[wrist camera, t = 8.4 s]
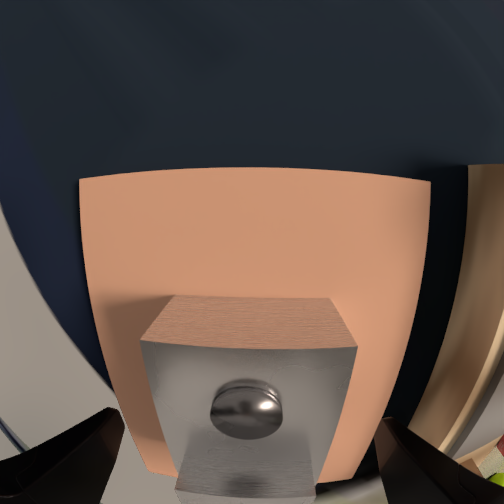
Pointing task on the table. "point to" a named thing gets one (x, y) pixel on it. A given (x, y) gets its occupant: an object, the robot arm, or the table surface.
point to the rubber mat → (256, 272)
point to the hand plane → (472, 337)
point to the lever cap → (248, 394)
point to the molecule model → (498, 479)
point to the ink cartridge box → (501, 445)
